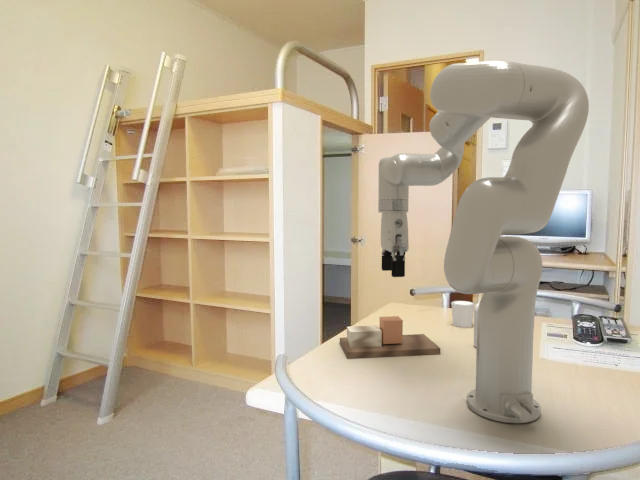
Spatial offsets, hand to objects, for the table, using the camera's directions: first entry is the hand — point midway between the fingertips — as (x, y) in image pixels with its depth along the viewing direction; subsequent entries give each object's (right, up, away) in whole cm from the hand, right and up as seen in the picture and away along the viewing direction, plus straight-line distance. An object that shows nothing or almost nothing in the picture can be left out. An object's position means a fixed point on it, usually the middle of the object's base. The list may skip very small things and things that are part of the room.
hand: (392, 273), depth 114 cm
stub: (0, -18, +1) cm, 18 cm away
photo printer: (+26, -20, -1) cm, 32 cm away
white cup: (+25, -18, +22) cm, 38 cm away
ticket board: (-1, -20, +1) cm, 20 cm away
